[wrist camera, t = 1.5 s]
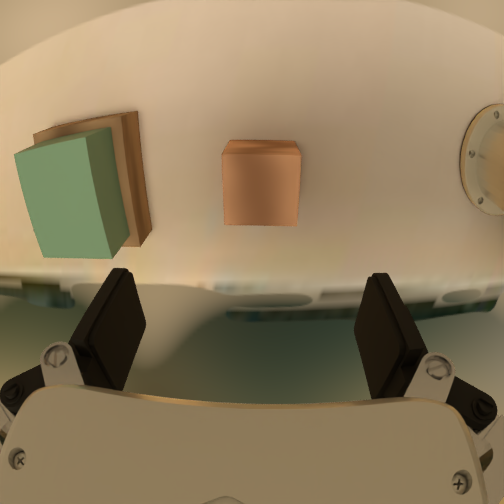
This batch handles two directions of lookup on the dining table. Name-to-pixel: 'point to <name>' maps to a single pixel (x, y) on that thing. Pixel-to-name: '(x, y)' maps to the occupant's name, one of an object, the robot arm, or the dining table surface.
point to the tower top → (74, 195)
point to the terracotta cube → (261, 182)
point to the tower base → (119, 166)
